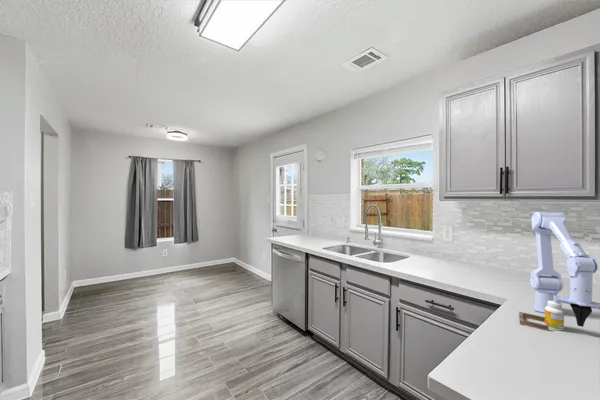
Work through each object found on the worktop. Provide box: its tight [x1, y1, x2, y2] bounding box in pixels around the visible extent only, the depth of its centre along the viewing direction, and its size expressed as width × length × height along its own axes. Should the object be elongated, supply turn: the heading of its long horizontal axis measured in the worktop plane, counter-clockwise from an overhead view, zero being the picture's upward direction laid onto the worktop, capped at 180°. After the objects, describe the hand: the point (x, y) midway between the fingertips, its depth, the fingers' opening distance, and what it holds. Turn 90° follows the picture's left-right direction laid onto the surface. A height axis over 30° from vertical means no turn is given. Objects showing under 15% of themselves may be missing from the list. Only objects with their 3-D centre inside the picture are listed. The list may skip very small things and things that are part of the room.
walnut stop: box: [518, 311, 550, 331], centre depth 108 cm, size 10×8×2 cm
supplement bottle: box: [544, 301, 565, 331], centre depth 104 cm, size 5×5×10 cm
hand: (580, 325), depth 100 cm, fingers closed
